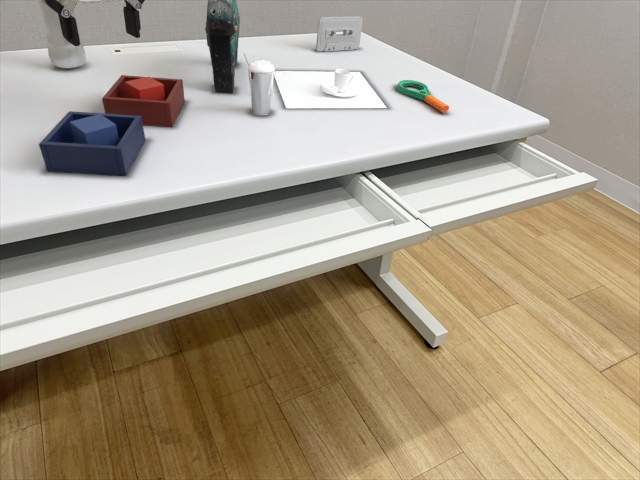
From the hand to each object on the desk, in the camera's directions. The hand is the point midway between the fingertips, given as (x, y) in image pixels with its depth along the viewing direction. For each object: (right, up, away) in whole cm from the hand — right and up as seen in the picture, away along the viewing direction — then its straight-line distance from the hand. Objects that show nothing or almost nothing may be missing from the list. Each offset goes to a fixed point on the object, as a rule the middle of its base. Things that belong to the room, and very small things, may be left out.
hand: (104, 39), depth 74 cm
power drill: (+14, +2, +25) cm, 28 cm away
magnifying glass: (+55, -2, +25) cm, 60 cm away
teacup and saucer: (+35, 0, +25) cm, 43 cm away
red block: (+4, -8, +8) cm, 12 cm away
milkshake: (+22, -8, +13) cm, 27 cm away
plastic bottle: (-17, +4, +22) cm, 28 cm away
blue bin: (+1, -19, -4) cm, 19 cm away
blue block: (+1, -18, -4) cm, 19 cm away
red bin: (+4, -9, +9) cm, 13 cm away
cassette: (+38, +17, +46) cm, 62 cm away
